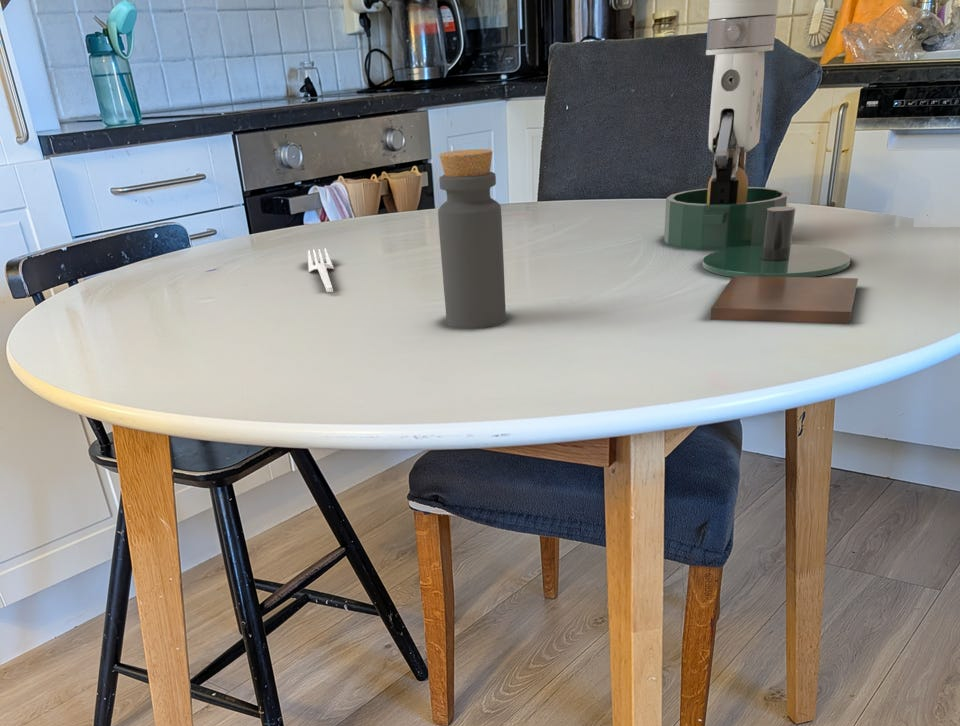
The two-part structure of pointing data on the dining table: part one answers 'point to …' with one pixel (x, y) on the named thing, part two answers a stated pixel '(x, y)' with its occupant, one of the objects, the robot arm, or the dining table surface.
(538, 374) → the dining table surface
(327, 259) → the fork
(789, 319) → the board
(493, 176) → the bottle
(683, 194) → the pot
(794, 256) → the lid
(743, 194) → the tan domed cylinder
